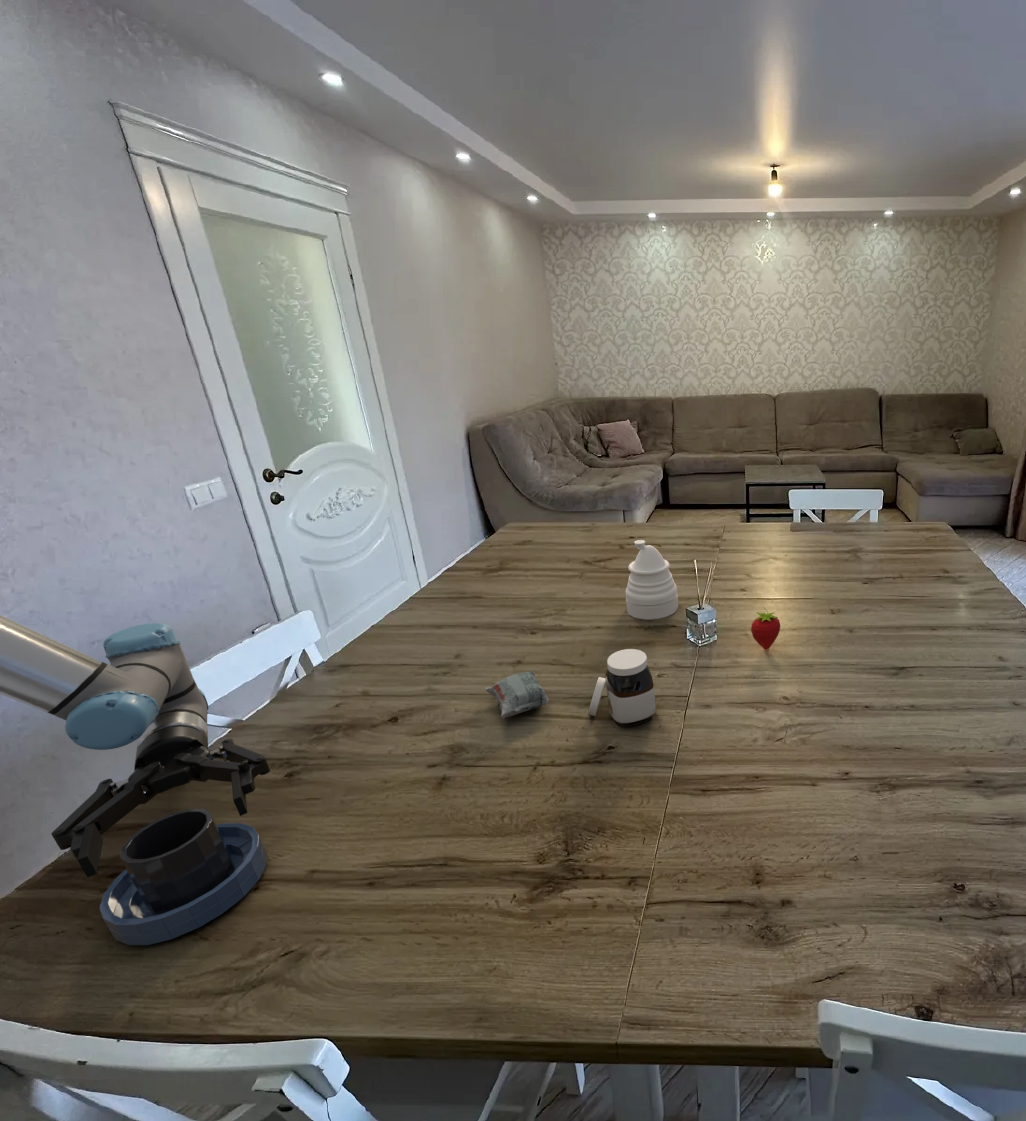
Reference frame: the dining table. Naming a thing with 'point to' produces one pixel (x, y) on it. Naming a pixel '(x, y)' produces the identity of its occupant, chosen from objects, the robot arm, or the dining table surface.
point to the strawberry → (765, 629)
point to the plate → (142, 928)
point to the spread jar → (626, 688)
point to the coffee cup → (177, 859)
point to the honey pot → (650, 585)
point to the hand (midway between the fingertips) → (168, 835)
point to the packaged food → (518, 694)
